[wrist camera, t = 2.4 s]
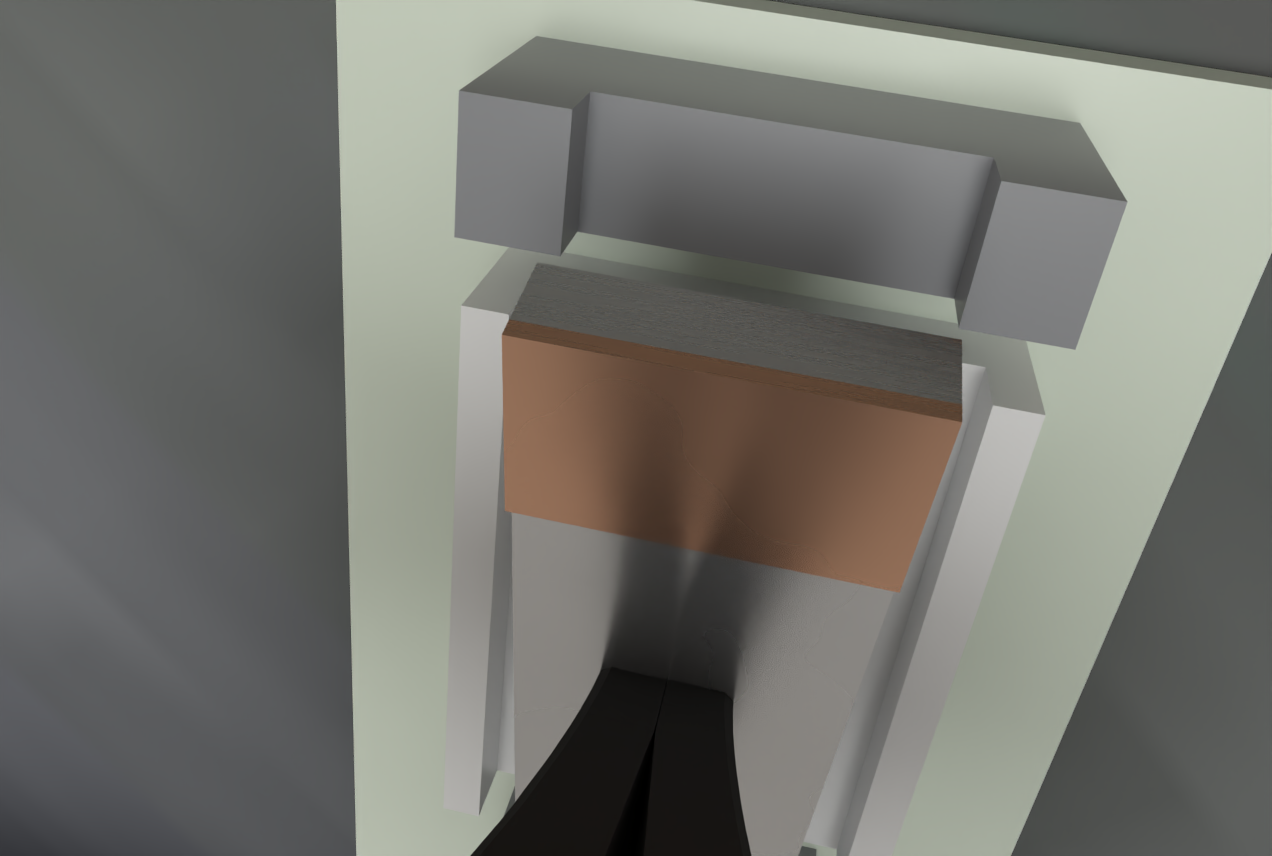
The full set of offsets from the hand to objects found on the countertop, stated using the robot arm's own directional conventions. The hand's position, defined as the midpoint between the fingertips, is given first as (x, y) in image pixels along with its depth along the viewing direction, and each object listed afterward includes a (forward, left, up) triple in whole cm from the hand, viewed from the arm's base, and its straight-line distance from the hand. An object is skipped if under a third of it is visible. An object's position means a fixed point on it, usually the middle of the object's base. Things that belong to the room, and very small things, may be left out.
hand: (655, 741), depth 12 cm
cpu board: (-2, 0, -6) cm, 7 cm away
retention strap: (-2, 0, -1) cm, 2 cm away
